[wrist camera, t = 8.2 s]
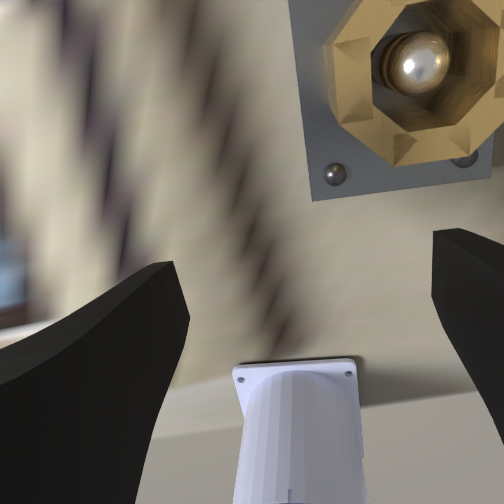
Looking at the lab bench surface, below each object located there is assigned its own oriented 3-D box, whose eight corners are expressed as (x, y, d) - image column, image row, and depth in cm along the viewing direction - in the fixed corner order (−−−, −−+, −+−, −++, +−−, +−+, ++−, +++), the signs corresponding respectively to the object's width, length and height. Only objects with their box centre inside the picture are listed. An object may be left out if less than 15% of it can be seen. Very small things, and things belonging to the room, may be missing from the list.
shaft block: (479, 170, 19) (541, 212, 14) (311, 193, 20) (315, 238, 15) (503, -132, 14) (612, -228, 9) (279, -74, 15) (271, -130, 10)
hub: (465, 121, 17) (525, 147, 12) (332, 142, 18) (343, 174, 13) (474, -38, 14) (554, -77, 10) (318, -2, 15) (327, -23, 11)
